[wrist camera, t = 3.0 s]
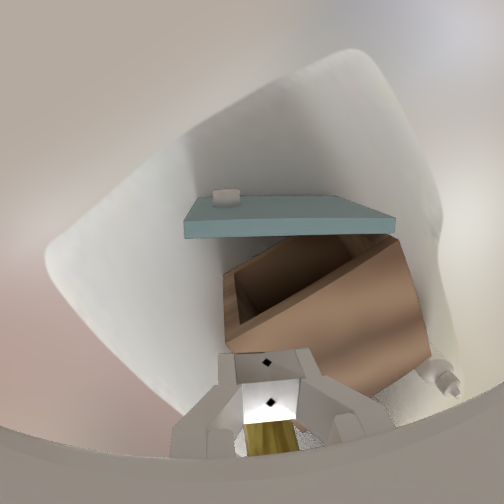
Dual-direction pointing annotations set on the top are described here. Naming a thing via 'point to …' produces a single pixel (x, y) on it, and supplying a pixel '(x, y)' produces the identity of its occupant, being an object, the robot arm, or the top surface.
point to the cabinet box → (330, 307)
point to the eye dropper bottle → (439, 373)
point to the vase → (270, 438)
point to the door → (280, 216)
